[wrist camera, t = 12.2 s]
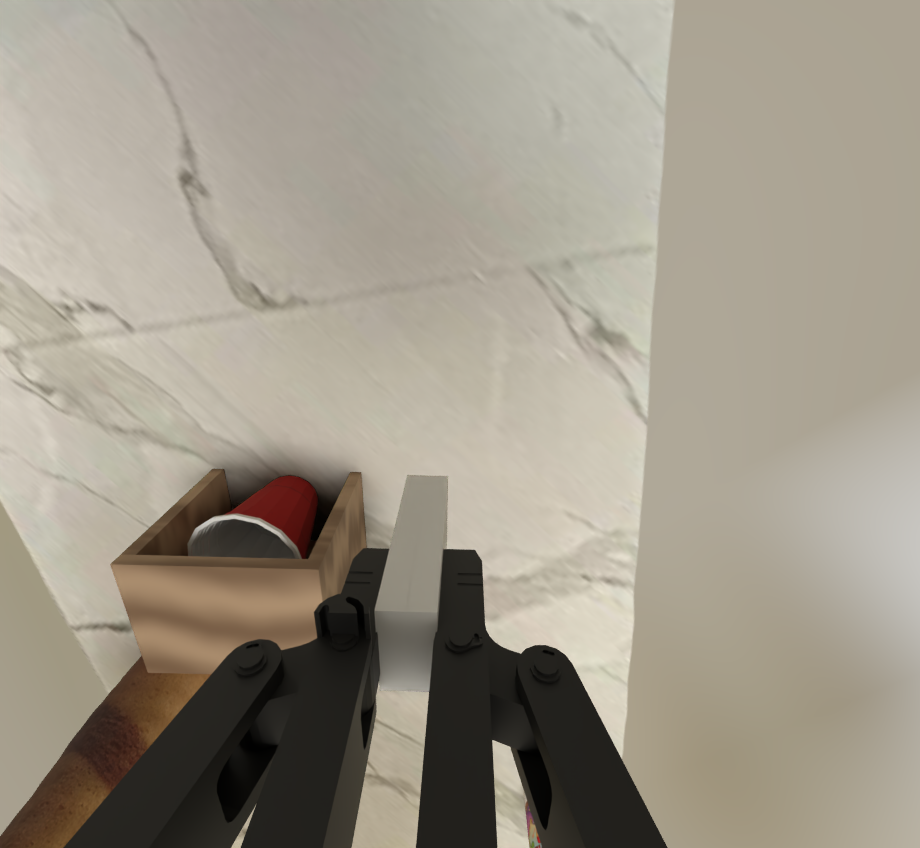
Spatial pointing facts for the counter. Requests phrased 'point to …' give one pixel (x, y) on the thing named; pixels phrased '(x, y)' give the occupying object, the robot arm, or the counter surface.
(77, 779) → the wafer roll
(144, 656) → the open wooden crate
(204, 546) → the plastic cup
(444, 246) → the counter surface
